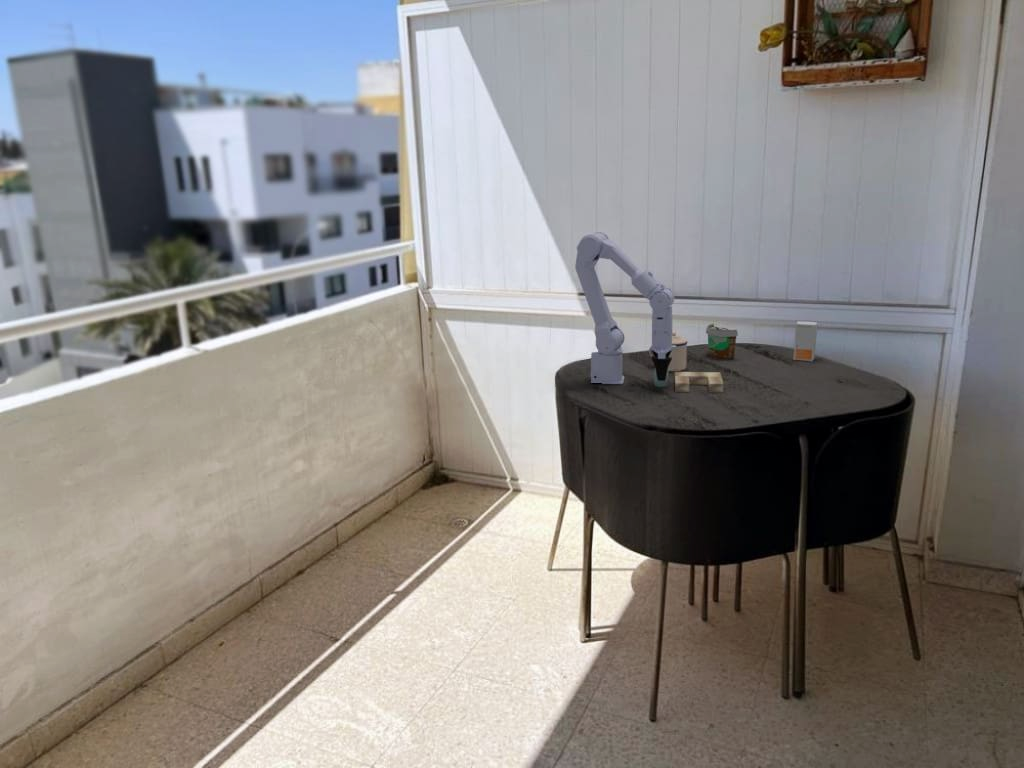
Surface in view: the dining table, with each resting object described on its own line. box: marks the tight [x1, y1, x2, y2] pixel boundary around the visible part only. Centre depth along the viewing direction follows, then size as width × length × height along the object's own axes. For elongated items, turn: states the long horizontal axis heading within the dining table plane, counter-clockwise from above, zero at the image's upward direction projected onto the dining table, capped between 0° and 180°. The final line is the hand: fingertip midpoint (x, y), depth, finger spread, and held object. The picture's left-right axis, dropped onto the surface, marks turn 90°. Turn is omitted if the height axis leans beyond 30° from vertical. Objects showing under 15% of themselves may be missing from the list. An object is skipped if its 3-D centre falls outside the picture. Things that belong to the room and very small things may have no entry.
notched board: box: [674, 371, 724, 393], centre depth 209 cm, size 13×12×2 cm
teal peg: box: [653, 367, 669, 388], centre depth 211 cm, size 4×4×5 cm
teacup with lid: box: [648, 331, 689, 372], centre depth 228 cm, size 12×9×12 cm
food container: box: [705, 323, 739, 360], centre depth 238 cm, size 12×6×10 cm, turn 25°
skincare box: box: [793, 320, 819, 362], centre depth 231 cm, size 6×4×12 cm
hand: (661, 376), depth 211 cm, fingers open, 7 cm apart
